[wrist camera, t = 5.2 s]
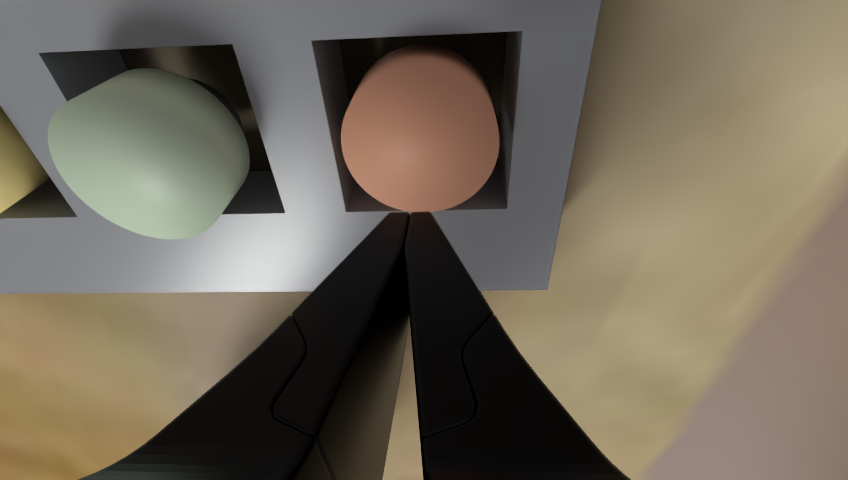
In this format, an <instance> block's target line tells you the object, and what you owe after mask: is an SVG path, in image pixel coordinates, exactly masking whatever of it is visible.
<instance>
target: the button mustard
mask: <svg viewBox="0 0 848 480" xmlns="http://www.w3.org/2000/svg"><path fill="white" fill-rule="evenodd" d="M49 177H50V176H49V175H48V174H47V172H46V171H45V169H44V168H43V166H42V165H41V163H40V162H39V161H38V159H37V158H36V156H35V155H34V153H33V152H32V151H31V149H30V148H29V146H28V145H27V143H26V142H25V140H24V139H23V138H22V136H21V135H20V133H19V132H18V130H17V129H16V127H15V126H14V125H13V123H12V122H11V120H10V119H9V117H8V116H7V115H6V113H5V112H4V110H3V109H2V107H1V106H0V213H2V212H3V211H5V210H6V209H7V208H9V207H10V206H12V205H13V204H15V203H16V202H17V201H19V200H20V199H22V198H23V197H25V196H26V195H27V194H29V193H30V192H32V191H33V190H35V189H36V188H37V187H39V186H40V185H42V184H43V183H45V182H46V181H47V180H48V178H49Z"/></svg>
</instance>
